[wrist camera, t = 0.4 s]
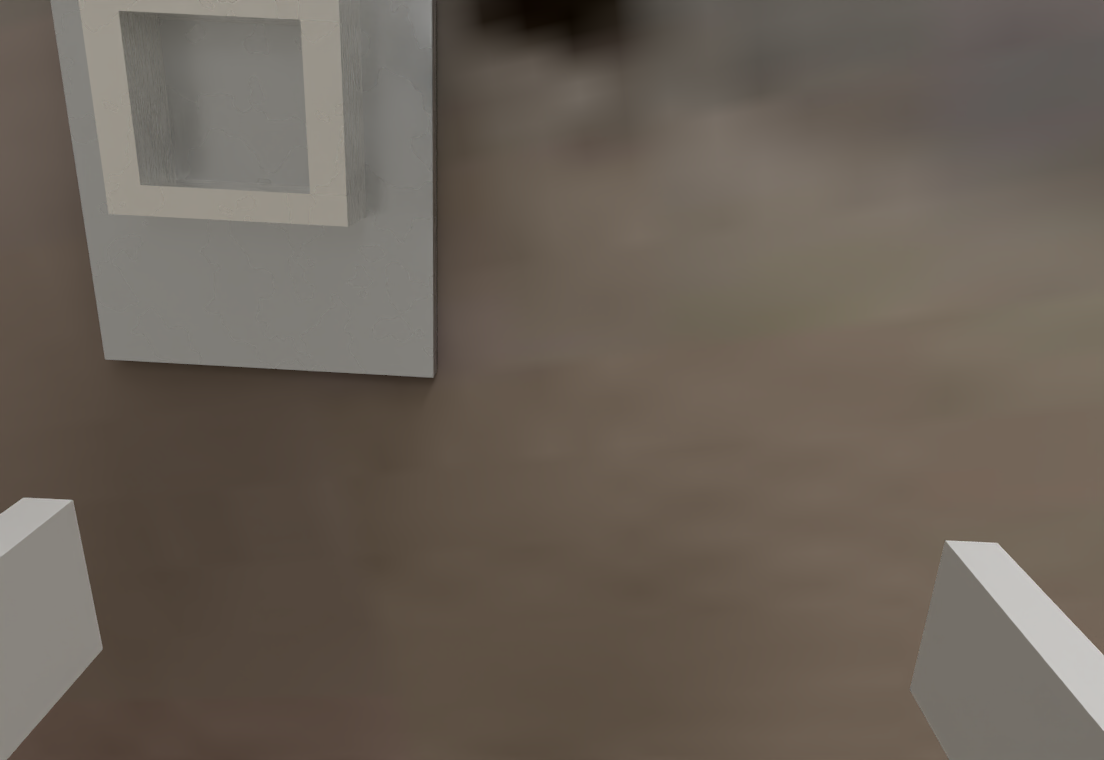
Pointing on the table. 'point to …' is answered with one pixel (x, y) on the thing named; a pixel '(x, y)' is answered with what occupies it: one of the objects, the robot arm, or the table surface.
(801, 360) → the table surface
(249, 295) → the socket plate
